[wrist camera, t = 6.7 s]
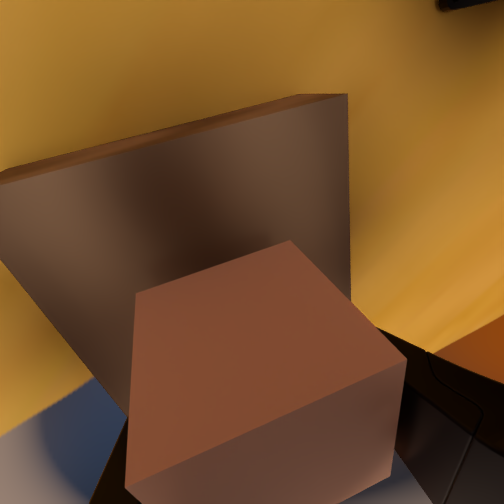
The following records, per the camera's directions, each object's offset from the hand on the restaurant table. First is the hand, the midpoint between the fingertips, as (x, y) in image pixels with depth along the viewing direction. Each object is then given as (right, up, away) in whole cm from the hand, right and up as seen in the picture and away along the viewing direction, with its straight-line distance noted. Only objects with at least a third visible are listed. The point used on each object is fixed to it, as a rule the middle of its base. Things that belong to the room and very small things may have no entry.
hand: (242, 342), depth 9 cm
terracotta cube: (0, 0, +1) cm, 1 cm away
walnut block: (-2, +3, +6) cm, 7 cm away
